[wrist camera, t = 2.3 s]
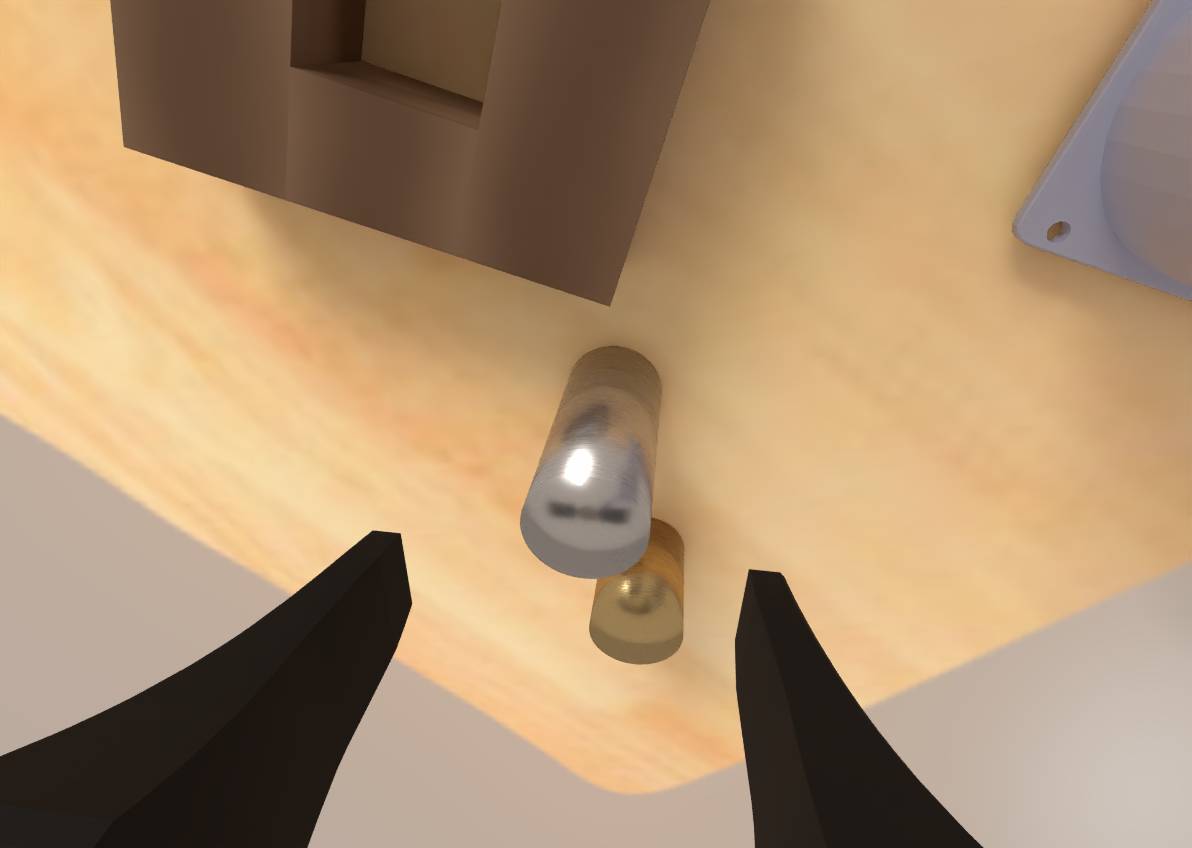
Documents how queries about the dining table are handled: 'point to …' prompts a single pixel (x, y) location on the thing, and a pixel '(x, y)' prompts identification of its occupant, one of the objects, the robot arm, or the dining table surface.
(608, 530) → the steel pin
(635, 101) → the walnut block
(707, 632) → the dining table surface
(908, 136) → the dining table surface
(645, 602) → the brass pin
